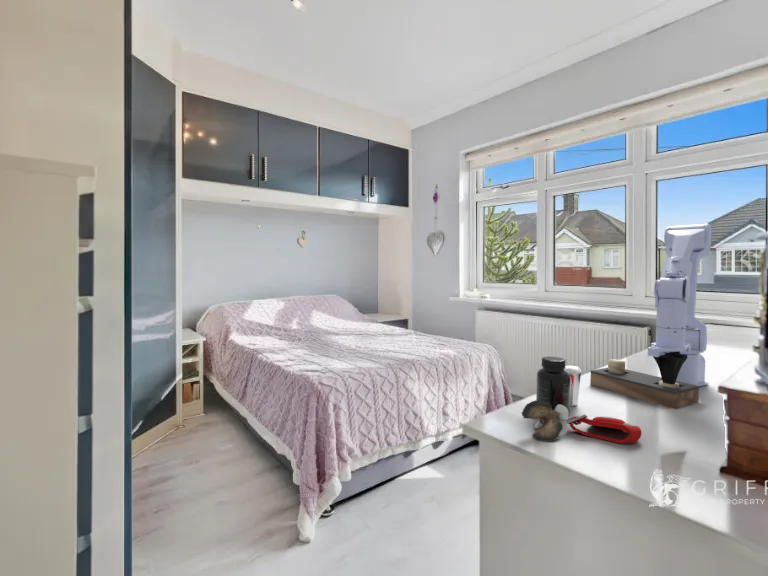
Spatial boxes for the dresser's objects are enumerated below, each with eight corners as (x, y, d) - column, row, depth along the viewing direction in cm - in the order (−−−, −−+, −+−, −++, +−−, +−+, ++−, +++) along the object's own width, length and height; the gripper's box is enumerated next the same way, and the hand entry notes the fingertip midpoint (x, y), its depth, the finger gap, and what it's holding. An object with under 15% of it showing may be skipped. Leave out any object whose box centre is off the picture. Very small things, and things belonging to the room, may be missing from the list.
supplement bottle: (560, 406, 91) (561, 355, 90) (575, 417, 84) (576, 362, 84) (531, 406, 91) (532, 355, 90) (544, 417, 84) (545, 362, 83)
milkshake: (574, 399, 95) (575, 359, 95) (583, 407, 90) (584, 364, 89) (555, 399, 96) (556, 359, 95) (563, 406, 90) (564, 364, 90)
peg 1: (613, 371, 109) (614, 358, 108) (628, 374, 105) (628, 361, 105) (604, 373, 107) (604, 360, 107) (618, 376, 103) (619, 363, 103)
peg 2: (664, 394, 97) (664, 379, 97) (682, 398, 94) (682, 384, 93) (654, 396, 95) (655, 381, 95) (672, 401, 92) (673, 386, 92)
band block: (613, 380, 112) (613, 366, 112) (698, 402, 93) (699, 386, 93) (590, 384, 107) (590, 370, 107) (674, 409, 89) (675, 392, 88)
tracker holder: (605, 416, 82) (652, 422, 73) (605, 438, 81) (653, 447, 72) (560, 410, 78) (604, 415, 69) (560, 433, 77) (605, 442, 68)
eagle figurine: (525, 414, 83) (511, 419, 76) (546, 389, 81) (534, 392, 74) (555, 442, 79) (544, 450, 71) (578, 416, 77) (569, 422, 70)
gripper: (669, 323, 100) (667, 375, 101) (635, 327, 94) (633, 382, 95) (701, 327, 94) (699, 382, 95) (667, 331, 88) (665, 390, 88)
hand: (668, 383), depth 94 cm, fingers closed, pressing on peg 2
